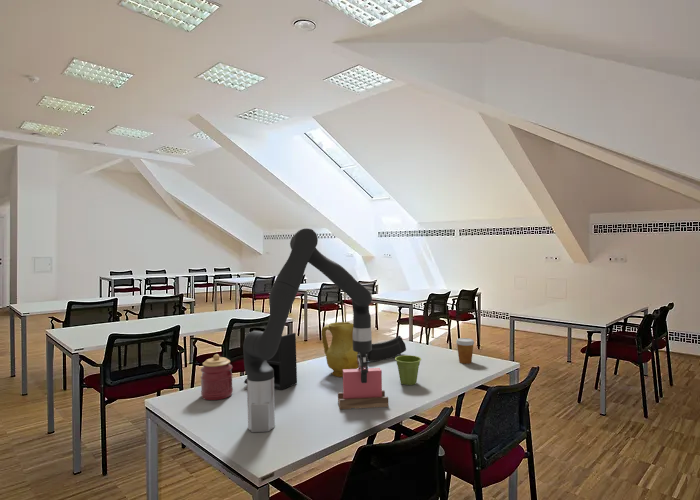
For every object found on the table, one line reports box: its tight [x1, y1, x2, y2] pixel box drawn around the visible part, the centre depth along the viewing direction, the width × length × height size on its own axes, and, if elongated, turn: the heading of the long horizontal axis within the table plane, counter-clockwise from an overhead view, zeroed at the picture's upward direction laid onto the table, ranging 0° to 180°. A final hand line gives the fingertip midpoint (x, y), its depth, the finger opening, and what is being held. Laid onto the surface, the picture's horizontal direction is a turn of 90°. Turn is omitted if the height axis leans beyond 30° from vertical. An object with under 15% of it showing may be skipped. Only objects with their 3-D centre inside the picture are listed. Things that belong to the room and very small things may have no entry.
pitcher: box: [321, 321, 358, 378], centre depth 219 cm, size 17×19×25 cm
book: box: [342, 367, 383, 399], centre depth 175 cm, size 4×15×12 cm, turn 96°
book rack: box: [337, 389, 389, 410], centre depth 175 cm, size 9×19×4 cm, turn 96°
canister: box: [200, 353, 234, 401], centre depth 188 cm, size 13×13×18 cm
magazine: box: [366, 335, 407, 362], centre depth 244 cm, size 17×3×30 cm
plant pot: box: [394, 354, 422, 386], centre depth 201 cm, size 12×12×11 cm
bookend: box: [243, 332, 298, 391], centre depth 204 cm, size 23×11×24 cm, turn 57°
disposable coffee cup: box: [455, 337, 475, 365], centre depth 234 cm, size 10×10×12 cm
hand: (362, 379), depth 175 cm, fingers open, 8 cm apart
